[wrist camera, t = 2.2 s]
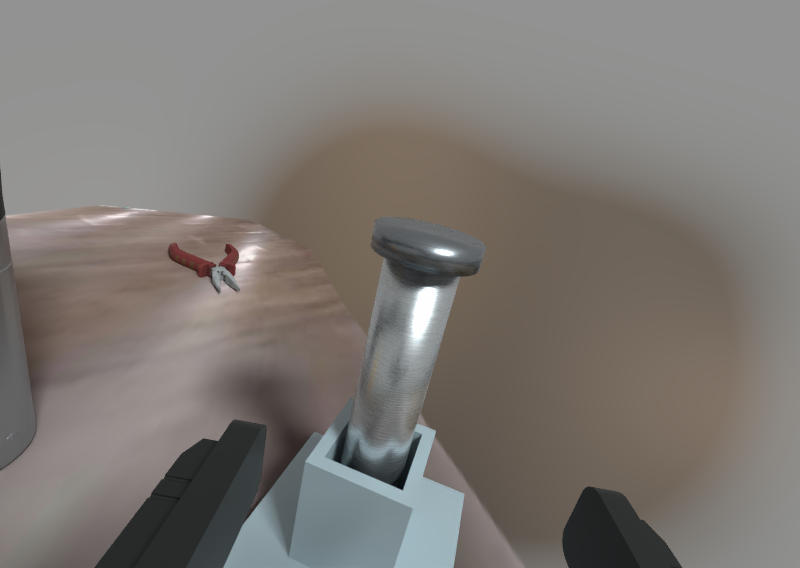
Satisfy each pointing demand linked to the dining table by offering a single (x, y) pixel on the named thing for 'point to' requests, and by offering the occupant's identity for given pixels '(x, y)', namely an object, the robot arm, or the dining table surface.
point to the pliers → (209, 265)
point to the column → (404, 339)
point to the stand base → (351, 513)
